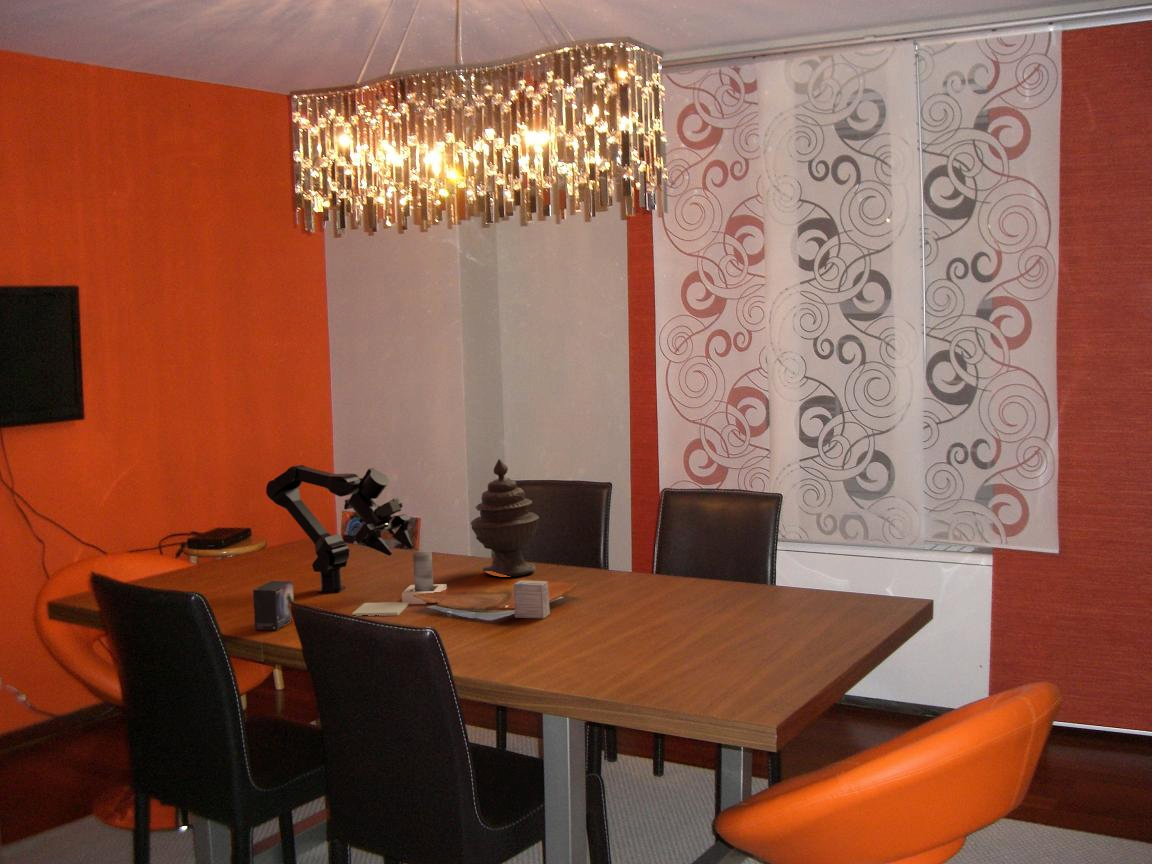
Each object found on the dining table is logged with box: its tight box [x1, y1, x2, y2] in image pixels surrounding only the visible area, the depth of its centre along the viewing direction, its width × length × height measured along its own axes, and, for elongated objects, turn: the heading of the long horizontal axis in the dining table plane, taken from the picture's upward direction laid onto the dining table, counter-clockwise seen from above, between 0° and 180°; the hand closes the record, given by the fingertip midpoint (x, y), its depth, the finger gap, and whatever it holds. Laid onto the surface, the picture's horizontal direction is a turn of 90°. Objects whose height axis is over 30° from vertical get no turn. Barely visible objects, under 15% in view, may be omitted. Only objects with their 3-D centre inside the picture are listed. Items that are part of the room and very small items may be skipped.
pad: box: [351, 601, 410, 617], centre depth 298 cm, size 11×12×1 cm
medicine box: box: [512, 580, 551, 619], centre depth 284 cm, size 8×4×9 cm, turn 71°
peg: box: [412, 550, 434, 592], centre depth 308 cm, size 5×5×13 cm
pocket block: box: [401, 583, 448, 605], centre depth 308 cm, size 10×10×3 cm
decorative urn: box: [470, 458, 540, 578], centre depth 335 cm, size 20×20×35 cm
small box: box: [252, 580, 295, 631], centre depth 287 cm, size 11×6×10 cm, turn 168°
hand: (401, 551), depth 310 cm, fingers open, 9 cm apart
